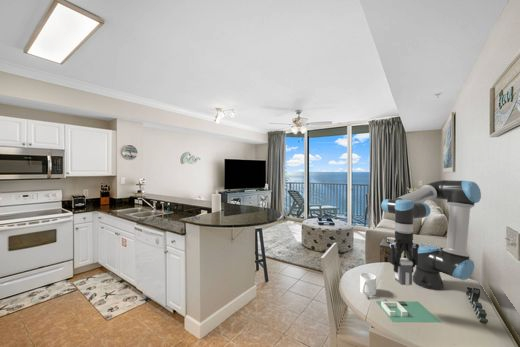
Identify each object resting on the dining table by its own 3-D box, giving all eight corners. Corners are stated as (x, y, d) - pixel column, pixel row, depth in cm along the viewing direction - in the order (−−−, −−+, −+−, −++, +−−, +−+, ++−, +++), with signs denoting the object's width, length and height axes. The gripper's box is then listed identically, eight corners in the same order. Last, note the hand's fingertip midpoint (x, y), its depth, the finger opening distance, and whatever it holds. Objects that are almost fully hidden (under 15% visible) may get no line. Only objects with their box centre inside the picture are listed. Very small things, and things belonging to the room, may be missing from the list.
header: (397, 305, 113) (397, 301, 113) (407, 316, 105) (407, 311, 105) (381, 305, 113) (381, 301, 113) (390, 316, 105) (390, 311, 105)
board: (417, 303, 116) (417, 298, 116) (441, 324, 100) (441, 318, 100) (375, 303, 117) (375, 297, 117) (392, 324, 101) (392, 318, 101)
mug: (370, 302, 118) (370, 283, 118) (355, 296, 124) (355, 278, 124) (378, 293, 126) (378, 275, 126) (363, 288, 132) (363, 271, 132)
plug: (405, 279, 111) (405, 257, 111) (413, 285, 105) (413, 262, 105) (394, 279, 111) (395, 257, 111) (402, 285, 105) (402, 262, 105)
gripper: (417, 229, 112) (416, 275, 112) (381, 229, 112) (380, 274, 112) (428, 233, 104) (427, 282, 104) (389, 233, 104) (389, 282, 105)
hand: (403, 278), depth 108 cm, fingers closed on plug, 5 cm apart
